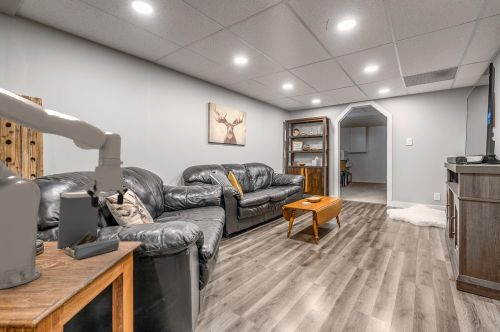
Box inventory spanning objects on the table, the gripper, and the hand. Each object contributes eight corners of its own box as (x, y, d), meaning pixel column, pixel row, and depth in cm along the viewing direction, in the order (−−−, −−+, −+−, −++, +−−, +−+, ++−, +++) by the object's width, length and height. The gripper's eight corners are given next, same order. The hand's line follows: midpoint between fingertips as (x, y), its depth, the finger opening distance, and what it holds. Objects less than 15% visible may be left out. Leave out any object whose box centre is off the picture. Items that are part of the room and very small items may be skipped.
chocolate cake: (84, 256, 92) (103, 230, 101) (67, 251, 92) (87, 226, 100) (89, 265, 99) (107, 240, 107) (73, 260, 98) (92, 236, 107)
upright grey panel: (106, 245, 105) (108, 192, 106) (66, 254, 92) (69, 194, 93) (95, 241, 110) (97, 191, 111) (57, 249, 97) (60, 193, 98)
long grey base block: (118, 248, 99) (118, 239, 99) (78, 259, 86) (78, 248, 86) (104, 243, 106) (104, 234, 106) (65, 252, 93) (65, 242, 93)
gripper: (125, 164, 101) (124, 203, 100) (80, 162, 86) (78, 207, 85) (135, 164, 97) (134, 204, 96) (89, 162, 82) (87, 209, 82)
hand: (107, 205), depth 91 cm, fingers open, 9 cm apart
